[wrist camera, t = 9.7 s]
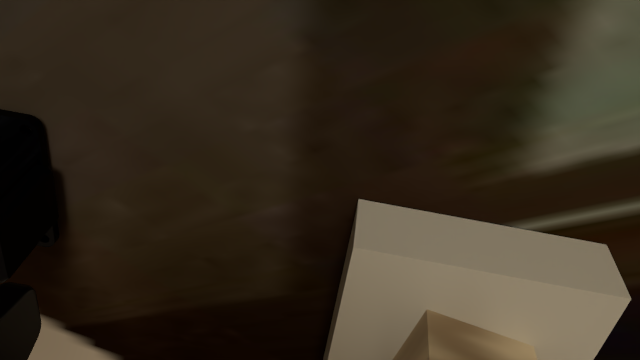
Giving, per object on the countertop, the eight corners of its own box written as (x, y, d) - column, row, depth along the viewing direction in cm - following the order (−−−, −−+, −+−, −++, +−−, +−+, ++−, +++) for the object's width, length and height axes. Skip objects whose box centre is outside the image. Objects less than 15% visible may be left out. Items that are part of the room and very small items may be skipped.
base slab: (323, 359, 29) (315, 413, 26) (358, 198, 23) (353, 247, 21) (522, 397, 29) (533, 454, 26) (606, 244, 23) (631, 299, 21)
